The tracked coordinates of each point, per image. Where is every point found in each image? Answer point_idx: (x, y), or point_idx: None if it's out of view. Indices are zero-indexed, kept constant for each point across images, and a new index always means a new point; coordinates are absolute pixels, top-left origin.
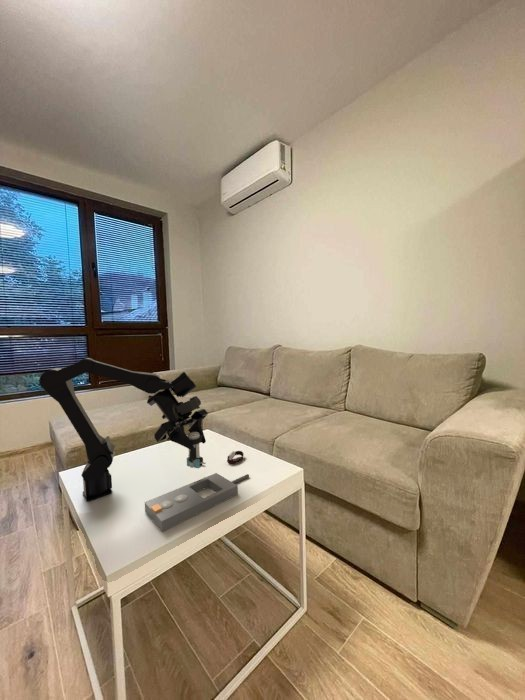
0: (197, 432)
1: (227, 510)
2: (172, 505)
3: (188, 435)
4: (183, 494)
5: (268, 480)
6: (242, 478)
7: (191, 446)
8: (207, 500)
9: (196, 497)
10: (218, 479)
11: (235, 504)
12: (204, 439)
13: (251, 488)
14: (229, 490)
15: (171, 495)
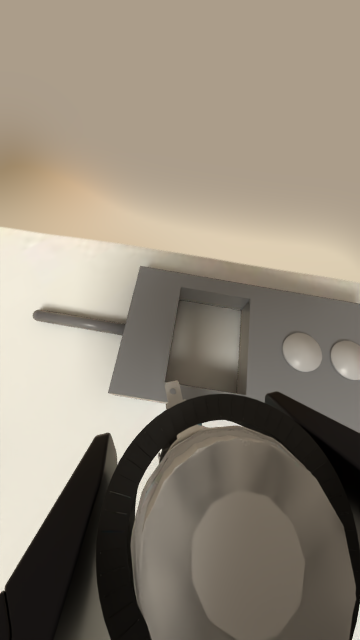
0: (150, 564)
1: (210, 258)
2: (334, 343)
3: (349, 560)
4: (284, 366)
5: (31, 256)
6: (66, 314)
7: (295, 404)
8: (246, 286)
9: (263, 318)
10: (145, 343)
11: (181, 258)
12: (100, 448)
13: (96, 269)
14: (171, 273)
15: (317, 397)
